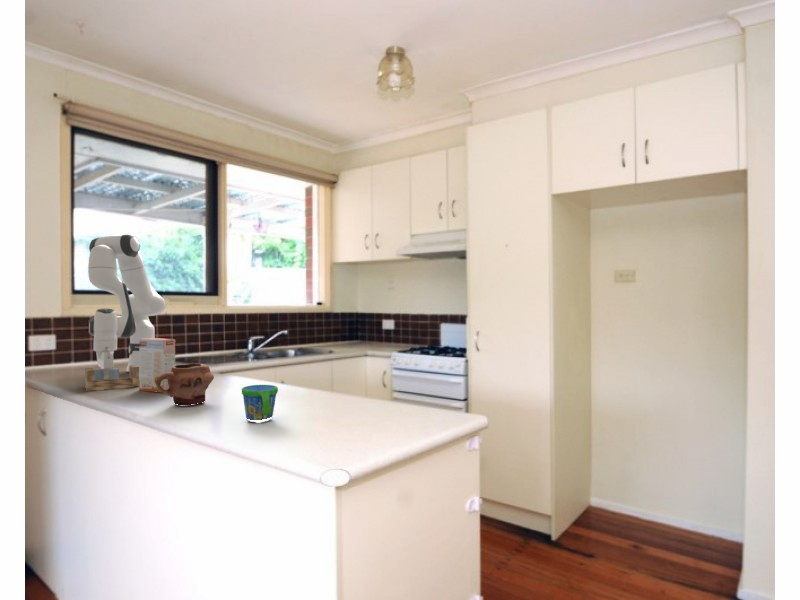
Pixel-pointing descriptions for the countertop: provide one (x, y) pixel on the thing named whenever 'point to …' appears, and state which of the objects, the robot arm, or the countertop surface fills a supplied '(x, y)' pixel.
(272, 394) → the snack cup
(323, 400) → the countertop surface
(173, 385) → the brown mug
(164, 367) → the cracker box
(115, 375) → the door panel
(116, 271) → the robot arm
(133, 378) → the track frame
